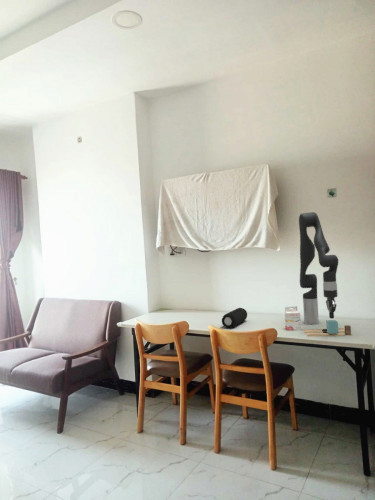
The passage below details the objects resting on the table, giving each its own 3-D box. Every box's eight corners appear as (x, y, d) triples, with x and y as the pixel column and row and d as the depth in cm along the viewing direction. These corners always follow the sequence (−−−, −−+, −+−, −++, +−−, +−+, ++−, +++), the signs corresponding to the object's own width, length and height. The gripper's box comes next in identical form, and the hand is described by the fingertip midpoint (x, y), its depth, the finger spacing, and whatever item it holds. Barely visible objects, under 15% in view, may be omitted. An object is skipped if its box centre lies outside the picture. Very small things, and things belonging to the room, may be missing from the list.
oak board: (302, 330, 222) (302, 329, 222) (343, 329, 220) (343, 328, 220) (308, 337, 206) (308, 336, 206) (352, 336, 204) (352, 335, 204)
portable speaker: (236, 320, 262) (235, 306, 262) (248, 321, 257) (248, 307, 257) (221, 328, 241) (220, 313, 240) (234, 329, 235) (233, 314, 235)
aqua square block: (326, 331, 212) (326, 320, 212) (335, 330, 211) (335, 319, 211) (329, 333, 207) (328, 322, 206) (338, 333, 206) (337, 322, 206)
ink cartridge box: (287, 331, 222) (286, 308, 222) (285, 329, 227) (284, 306, 227) (301, 330, 222) (300, 307, 222) (298, 328, 227) (297, 305, 227)
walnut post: (344, 333, 208) (344, 325, 208) (349, 333, 207) (349, 325, 207) (346, 335, 205) (346, 326, 205) (351, 334, 205) (350, 326, 205)
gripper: (320, 287, 215) (322, 316, 216) (326, 290, 202) (328, 321, 202) (333, 287, 214) (334, 315, 215) (340, 290, 201) (342, 320, 202)
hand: (331, 318), depth 209 cm, fingers closed
